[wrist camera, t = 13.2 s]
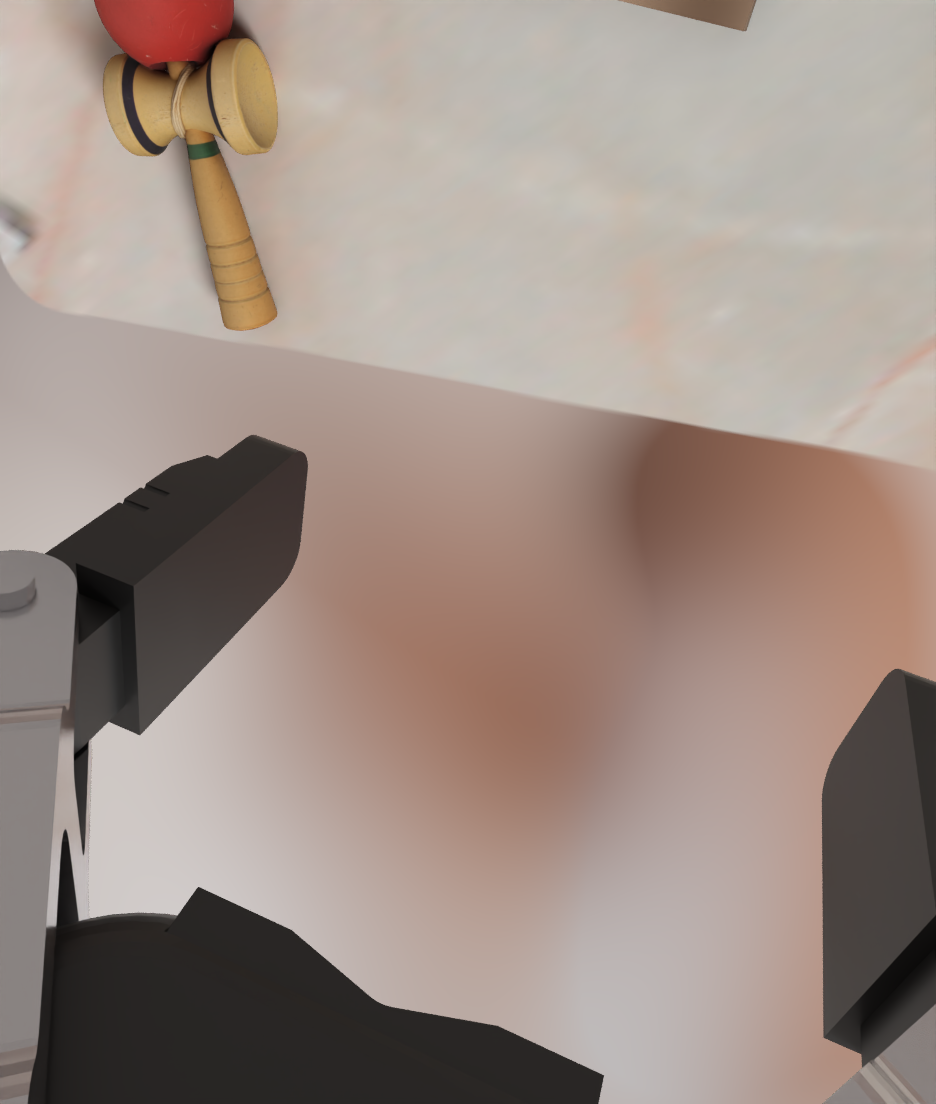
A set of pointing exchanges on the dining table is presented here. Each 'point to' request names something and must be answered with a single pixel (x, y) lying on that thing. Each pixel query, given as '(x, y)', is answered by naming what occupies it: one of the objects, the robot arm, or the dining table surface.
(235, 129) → the kendama
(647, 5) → the needle stand
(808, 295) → the dining table surface
